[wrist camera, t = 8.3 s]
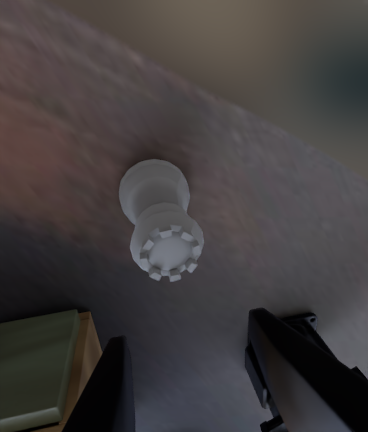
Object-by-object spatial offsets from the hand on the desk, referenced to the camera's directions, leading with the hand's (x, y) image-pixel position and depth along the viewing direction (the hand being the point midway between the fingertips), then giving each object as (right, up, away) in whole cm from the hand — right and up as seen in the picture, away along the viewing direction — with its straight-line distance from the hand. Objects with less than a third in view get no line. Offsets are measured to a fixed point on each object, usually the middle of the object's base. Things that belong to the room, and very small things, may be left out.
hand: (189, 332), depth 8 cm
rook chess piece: (-2, +5, +11) cm, 12 cm away
